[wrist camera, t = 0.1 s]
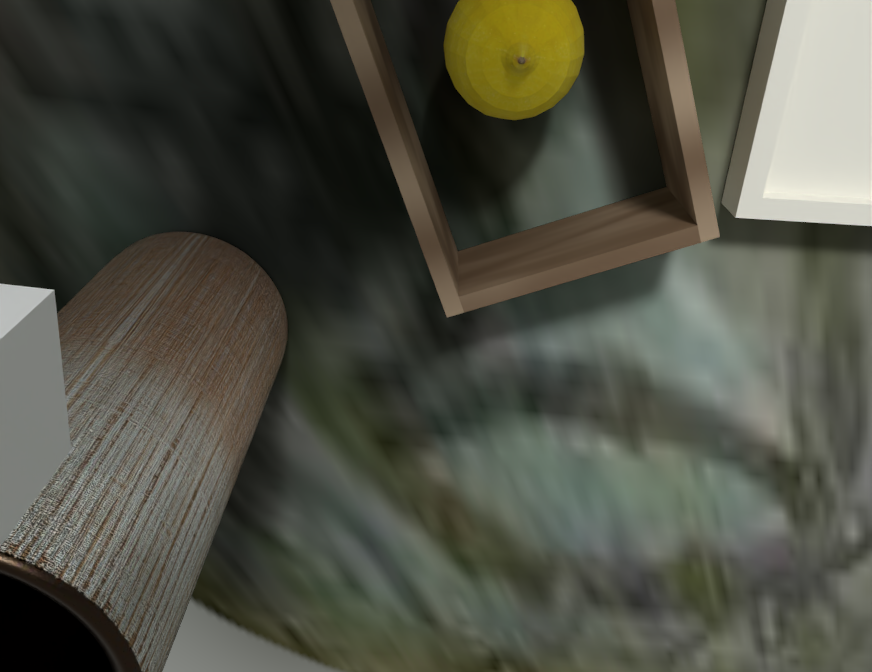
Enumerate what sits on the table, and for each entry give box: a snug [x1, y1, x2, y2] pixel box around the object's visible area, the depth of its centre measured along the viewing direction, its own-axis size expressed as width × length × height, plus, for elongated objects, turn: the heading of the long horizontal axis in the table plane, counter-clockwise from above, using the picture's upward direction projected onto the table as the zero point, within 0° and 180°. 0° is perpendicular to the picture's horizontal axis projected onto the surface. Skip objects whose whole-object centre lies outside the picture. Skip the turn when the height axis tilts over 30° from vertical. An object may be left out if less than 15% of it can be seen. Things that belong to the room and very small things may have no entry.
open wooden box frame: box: [330, 0, 720, 318], centre depth 33 cm, size 20×12×6 cm, turn 19°
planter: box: [0, 232, 288, 672], centre depth 32 cm, size 10×10×23 cm
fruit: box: [444, 0, 584, 120], centre depth 32 cm, size 6×6×8 cm
